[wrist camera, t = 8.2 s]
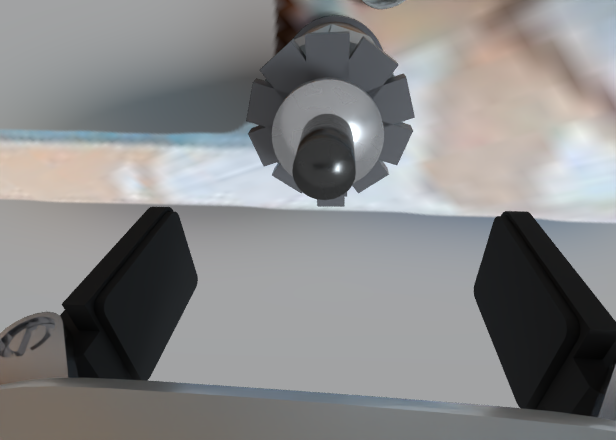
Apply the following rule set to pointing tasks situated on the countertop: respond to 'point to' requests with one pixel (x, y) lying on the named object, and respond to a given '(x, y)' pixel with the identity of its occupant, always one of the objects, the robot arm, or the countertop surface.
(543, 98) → the countertop surface
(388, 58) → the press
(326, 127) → the plunger
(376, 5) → the ceramic mug
